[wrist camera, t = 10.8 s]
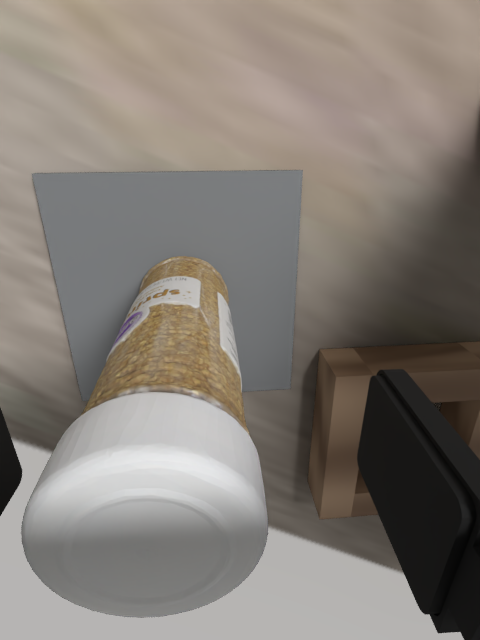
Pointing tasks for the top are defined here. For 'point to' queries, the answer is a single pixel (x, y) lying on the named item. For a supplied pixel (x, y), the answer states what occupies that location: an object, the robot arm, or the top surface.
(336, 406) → the walnut caddy
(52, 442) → the top surface
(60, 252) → the charcoal mat
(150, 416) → the sprinkles bottle
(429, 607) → the robot arm
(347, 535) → the top surface
